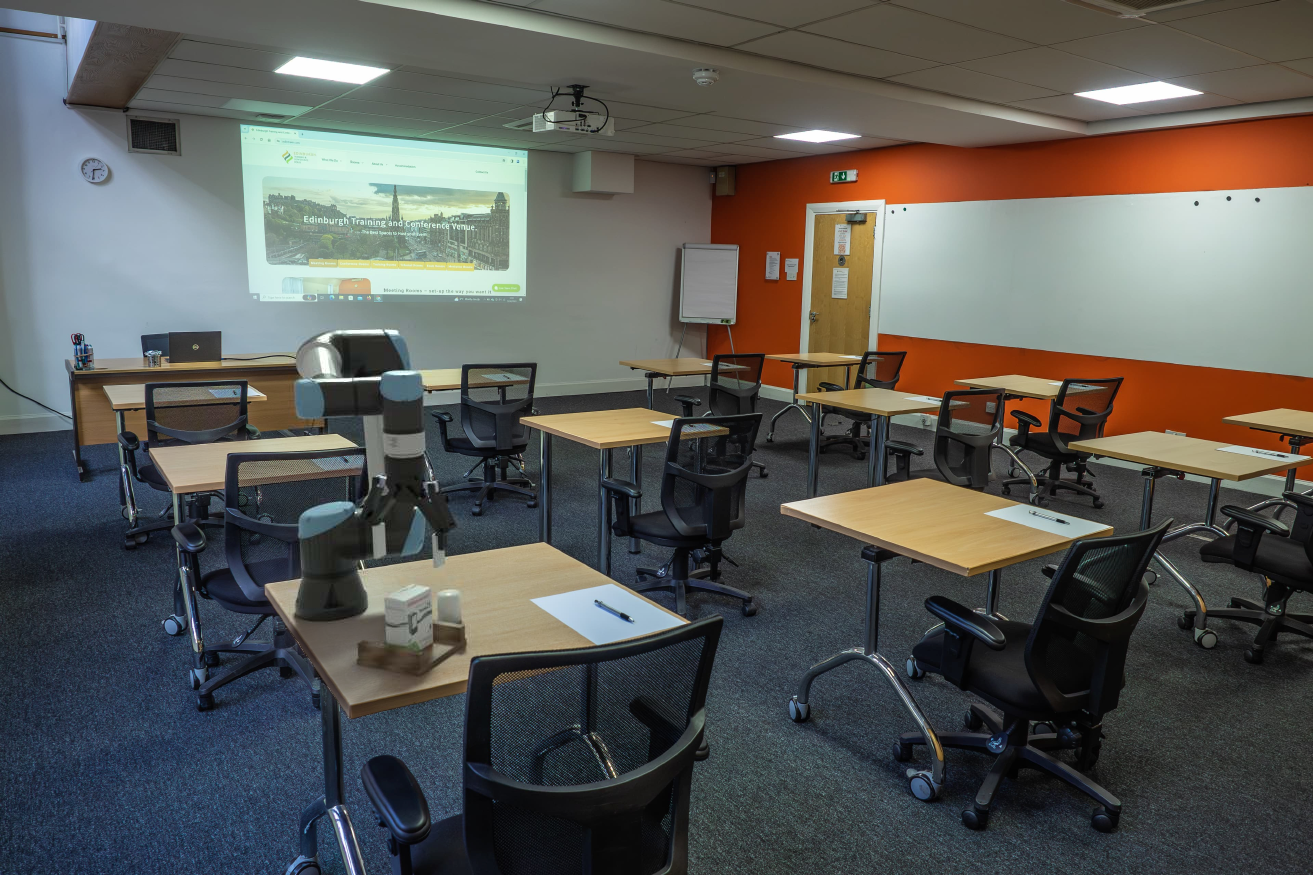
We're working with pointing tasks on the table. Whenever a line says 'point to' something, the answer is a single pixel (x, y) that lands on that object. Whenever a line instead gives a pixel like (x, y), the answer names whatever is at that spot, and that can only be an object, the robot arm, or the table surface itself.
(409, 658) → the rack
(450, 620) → the white cylinder
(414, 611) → the ink box
